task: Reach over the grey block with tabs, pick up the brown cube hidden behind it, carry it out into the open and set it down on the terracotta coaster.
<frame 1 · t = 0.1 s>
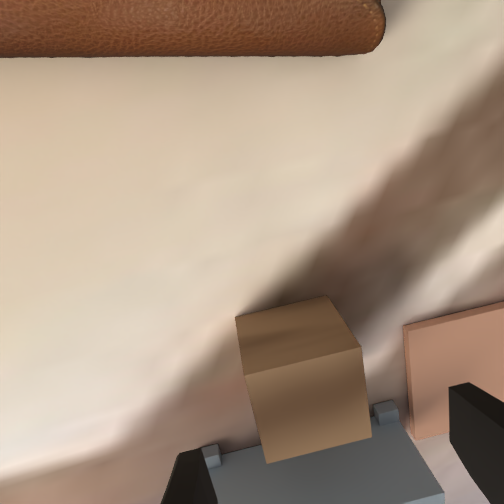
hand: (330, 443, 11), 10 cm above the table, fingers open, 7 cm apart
coaster: (470, 366, 24), on the table
brown cube: (288, 344, 22), on the table
grey block with tabs: (299, 442, 24), on the table
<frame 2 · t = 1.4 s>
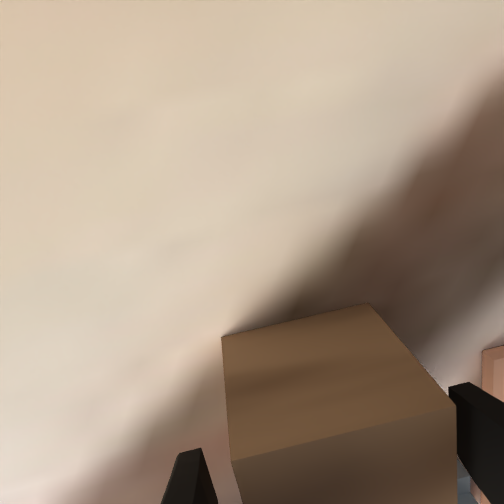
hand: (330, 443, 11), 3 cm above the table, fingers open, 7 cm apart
brown cube: (305, 379, 14), on the table
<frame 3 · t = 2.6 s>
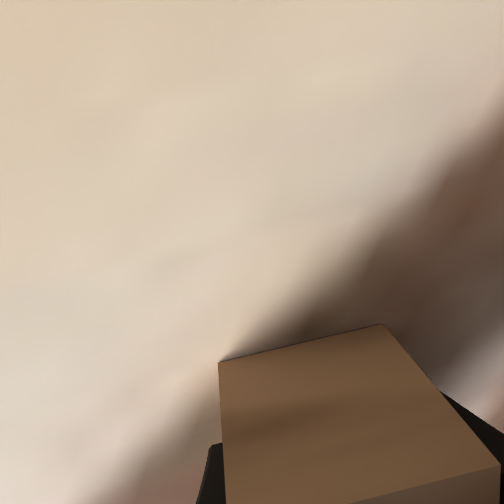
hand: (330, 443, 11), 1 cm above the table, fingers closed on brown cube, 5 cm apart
brown cube: (312, 409, 13), on the table, touching gripper
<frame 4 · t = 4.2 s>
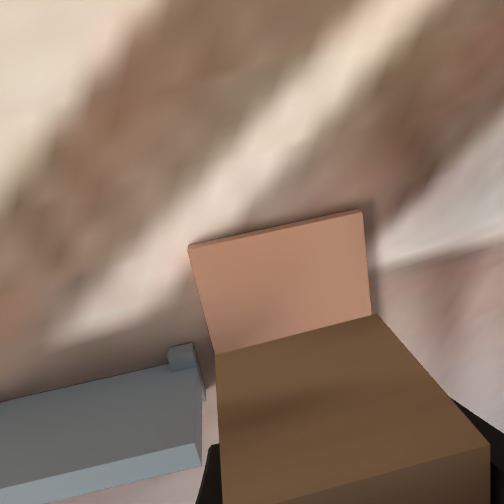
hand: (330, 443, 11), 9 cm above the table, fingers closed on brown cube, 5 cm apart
coaster: (286, 303, 20), on the table
brown cube: (309, 399, 13), point 7 cm above the table, touching gripper
grey block with tabs: (82, 393, 20), on the table
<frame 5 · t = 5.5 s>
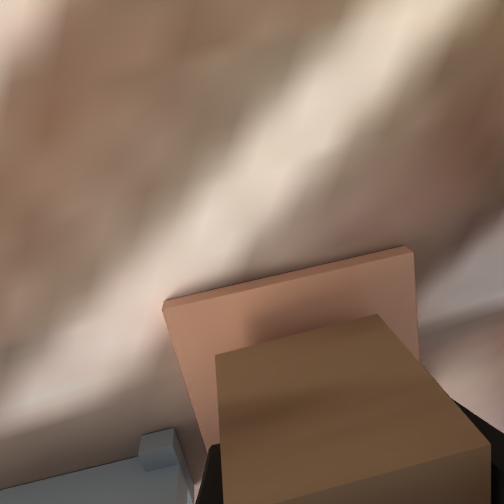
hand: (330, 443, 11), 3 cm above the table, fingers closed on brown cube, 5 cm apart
coaster: (303, 373, 14), on the table
brown cube: (310, 399, 13), point 2 cm above the table, touching gripper
grey block with tabs: (24, 497, 15), on the table
when the fingers open (3 cm above the table, at t = 6.3 s): brown cube stays where it is, resting on coaster.
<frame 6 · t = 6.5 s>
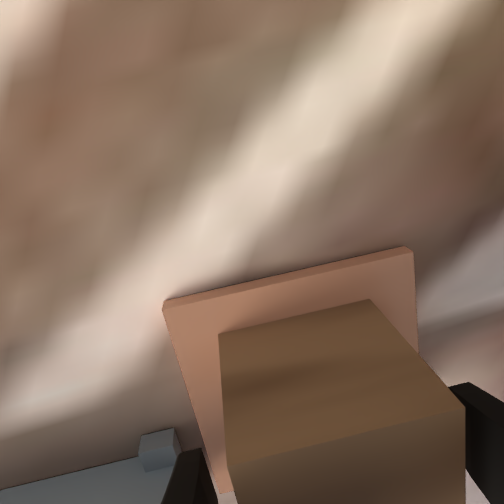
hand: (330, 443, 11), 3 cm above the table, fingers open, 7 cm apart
coaster: (303, 373, 14), on the table
brown cube: (305, 378, 14), point 1 cm above the table, touching coaster
grey block with tabs: (24, 497, 15), on the table
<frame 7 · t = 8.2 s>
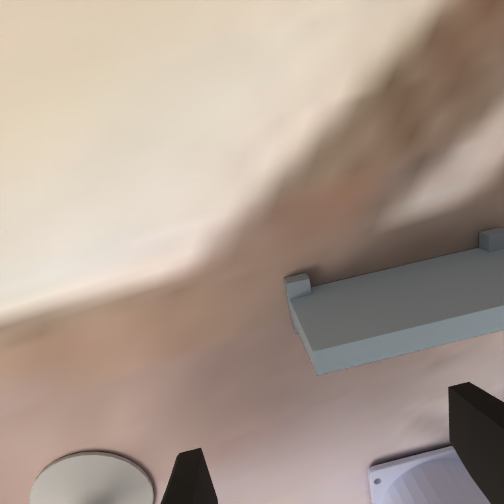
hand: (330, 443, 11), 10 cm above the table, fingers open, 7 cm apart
wineglass: (94, 494, 25), on the table
grey block with tabs: (395, 277, 22), on the table
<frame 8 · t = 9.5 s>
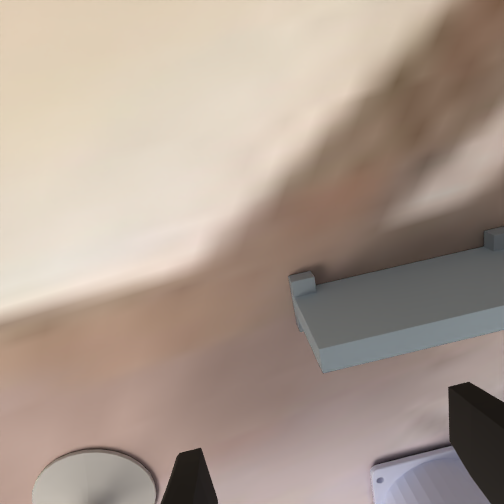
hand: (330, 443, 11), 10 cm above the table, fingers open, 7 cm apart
wineglass: (97, 491, 25), on the table
grey block with tabs: (399, 275, 22), on the table
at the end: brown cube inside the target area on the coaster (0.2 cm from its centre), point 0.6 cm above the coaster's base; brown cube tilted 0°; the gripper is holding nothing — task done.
